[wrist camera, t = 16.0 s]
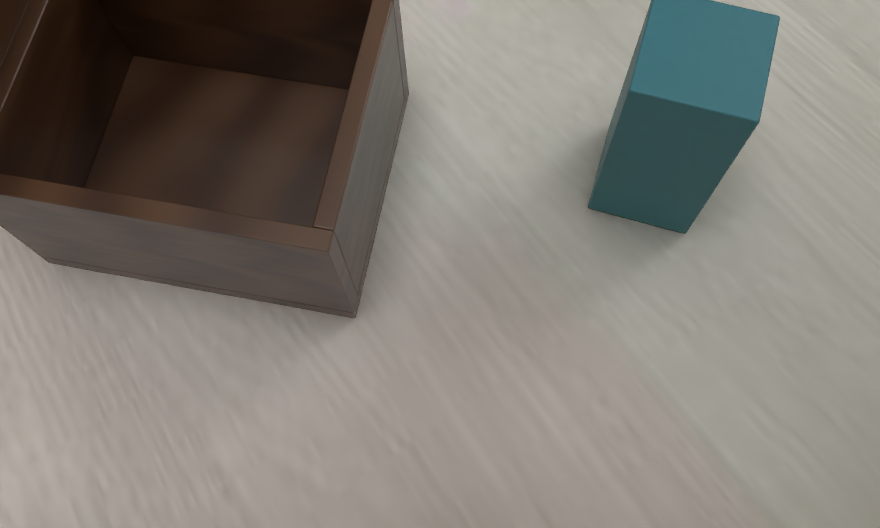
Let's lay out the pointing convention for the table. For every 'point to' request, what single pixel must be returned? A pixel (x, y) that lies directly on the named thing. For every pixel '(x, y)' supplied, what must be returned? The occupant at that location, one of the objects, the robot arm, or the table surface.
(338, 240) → the chest
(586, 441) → the table surface
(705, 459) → the table surface
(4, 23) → the lid
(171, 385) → the table surface
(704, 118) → the block
